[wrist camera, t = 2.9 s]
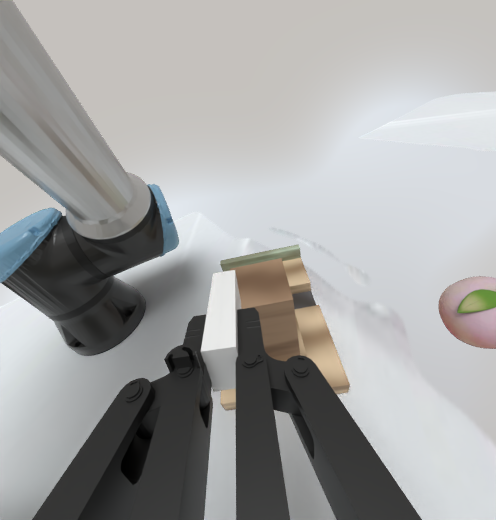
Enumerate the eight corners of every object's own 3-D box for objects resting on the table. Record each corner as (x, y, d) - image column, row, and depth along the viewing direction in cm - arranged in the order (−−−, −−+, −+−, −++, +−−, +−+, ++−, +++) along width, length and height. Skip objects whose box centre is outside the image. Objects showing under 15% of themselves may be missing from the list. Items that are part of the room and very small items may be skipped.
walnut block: (301, 366, 30) (293, 299, 21) (257, 373, 30) (229, 311, 21) (292, 326, 34) (281, 258, 25) (253, 333, 35) (229, 268, 26)
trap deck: (348, 392, 28) (351, 376, 25) (226, 410, 30) (214, 397, 27) (299, 262, 48) (298, 244, 44) (227, 277, 49) (220, 260, 46)
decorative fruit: (462, 298, 34) (493, 247, 28) (530, 343, 28) (591, 291, 22) (411, 322, 33) (432, 276, 27) (471, 375, 27) (517, 330, 21)
